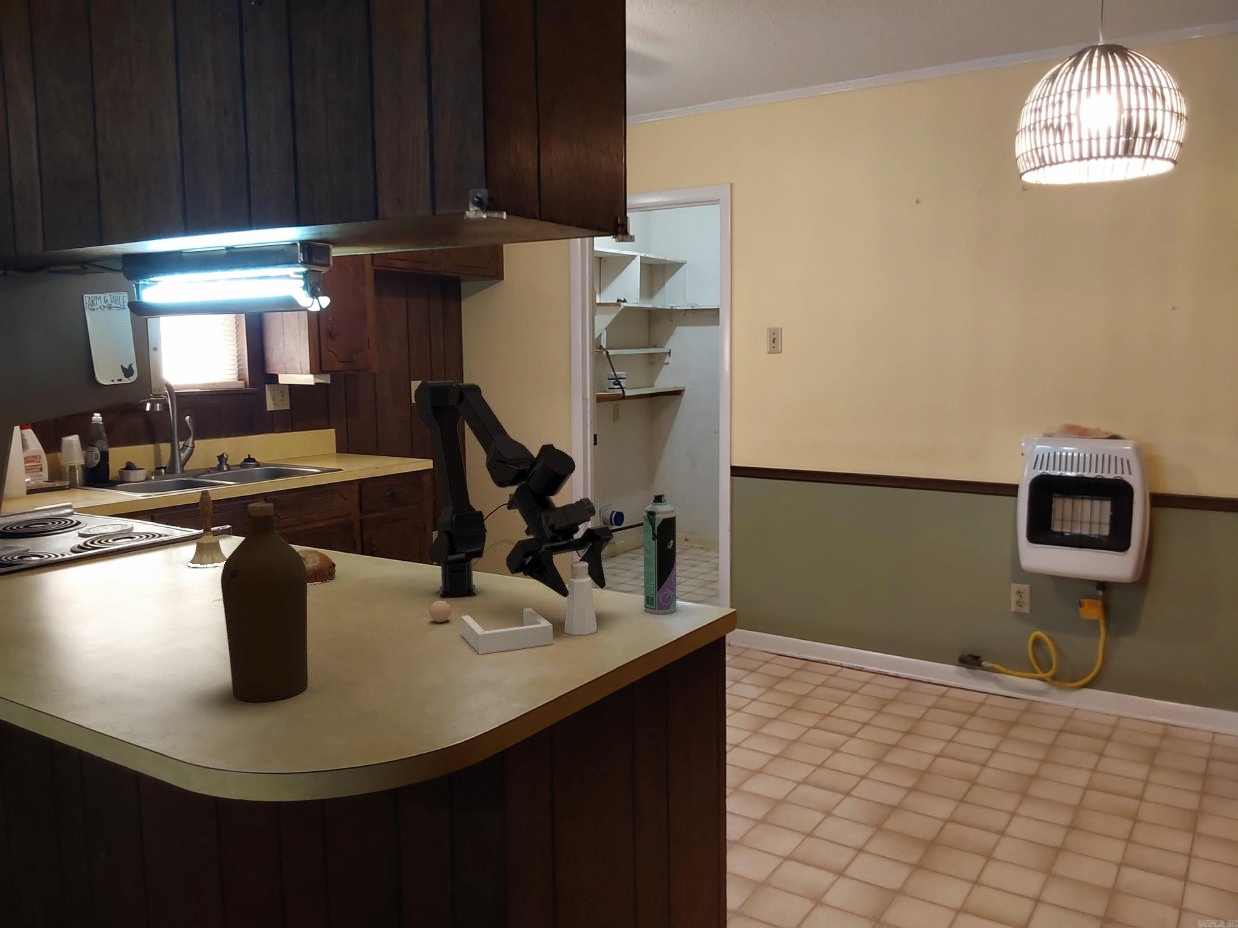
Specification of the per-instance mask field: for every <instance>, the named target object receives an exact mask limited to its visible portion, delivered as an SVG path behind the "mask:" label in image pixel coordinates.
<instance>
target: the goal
mask: <svg viewBox="0 0 1238 928" xmlns="http://www.w3.org/2000/svg"><path fill="white" fill-rule="evenodd" d="M522 609H523V610H522V611H523V613H522V614H523V626H517V627H516V626H515V627H510V628H509V627H508V628H501V629H491V630H484V629H483V628H482V627H481V626H480V625H479V624H478V623H477V622H476V621H475V620H474V619H473V618H472V617H471V616H470V615H461V616H460V619H461V621H460V622H461V636H462V637H463V638H464V639H465V640H466V641H467V642H468V643H469V645H470V646H471V647H472V648H473V649H474V650H475V651H476V652H477V653H478V654H479V655H484V654H490V653H491V654H492V653H497V652H498V653H499V652H506V651H515V650H521V649H527V648H528V649H529V648H534V647H535V648H536V647H542V646H549V645H553V644H554V640H553V639H554V638H553V637H554V636H553V635H554V634H553V633H554V632H553V624H552V623H551V622H549V621H548V620H547V619H545V618H544V617H542V616H541V615H540V614H539V613H538V612H537V611H535V610H534V609H532V608H531V607H529V608H528V607H527V608H525V607H524V608H522Z"/></svg>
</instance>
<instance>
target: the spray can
mask: <svg viewBox="0 0 1238 928" xmlns="http://www.w3.org/2000/svg"><path fill="white" fill-rule="evenodd" d="M653 497H654V498H653V499H652V501H651V503H650V504H649V505H648V506H646V507H644V508H643V511H644V512H643V591H644V592H643V593H644V594H643V600H644V601H643V602H644V603H643V608H644V612H646V613H647V614H652V615H668V614H672V613H675V612H676V611H677V513H676V508H675V507H673V506H671V505H670V504H669V502H668V501H667V500H666V499H665V494H664V493H660V494H655V495H654V496H653Z"/></svg>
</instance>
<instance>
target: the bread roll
mask: <svg viewBox="0 0 1238 928" xmlns="http://www.w3.org/2000/svg"><path fill="white" fill-rule="evenodd" d="M296 551H297V550H296ZM297 552H298V553H299V554H300V556H301V557H302V559H303V562H304V564H305V567H306V571H307V583H314V582H324V581H327V580H331V579H332V580H333V579H334V578H335V575H336V571H337V570H336V566H337V564H336V563H335V562H334V561H333V560H332V558H331V557H329V556H328V555H327V554H326V553H323V552H322V551H318V550H314V549H301V550H298V551H297ZM332 580H331V581H332Z"/></svg>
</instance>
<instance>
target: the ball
mask: <svg viewBox="0 0 1238 928" xmlns="http://www.w3.org/2000/svg"><path fill="white" fill-rule="evenodd" d="M451 614H452V608H451V605H449V603H448V602H446V601H444V600H437V601H435V602H433V603H432V604H431V606H430V608H429V615H430V617H431V619H432V620H433V621H435V622H436V623H444V622H446V621H447V620H448V619H449V618H450V616H451Z"/></svg>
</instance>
